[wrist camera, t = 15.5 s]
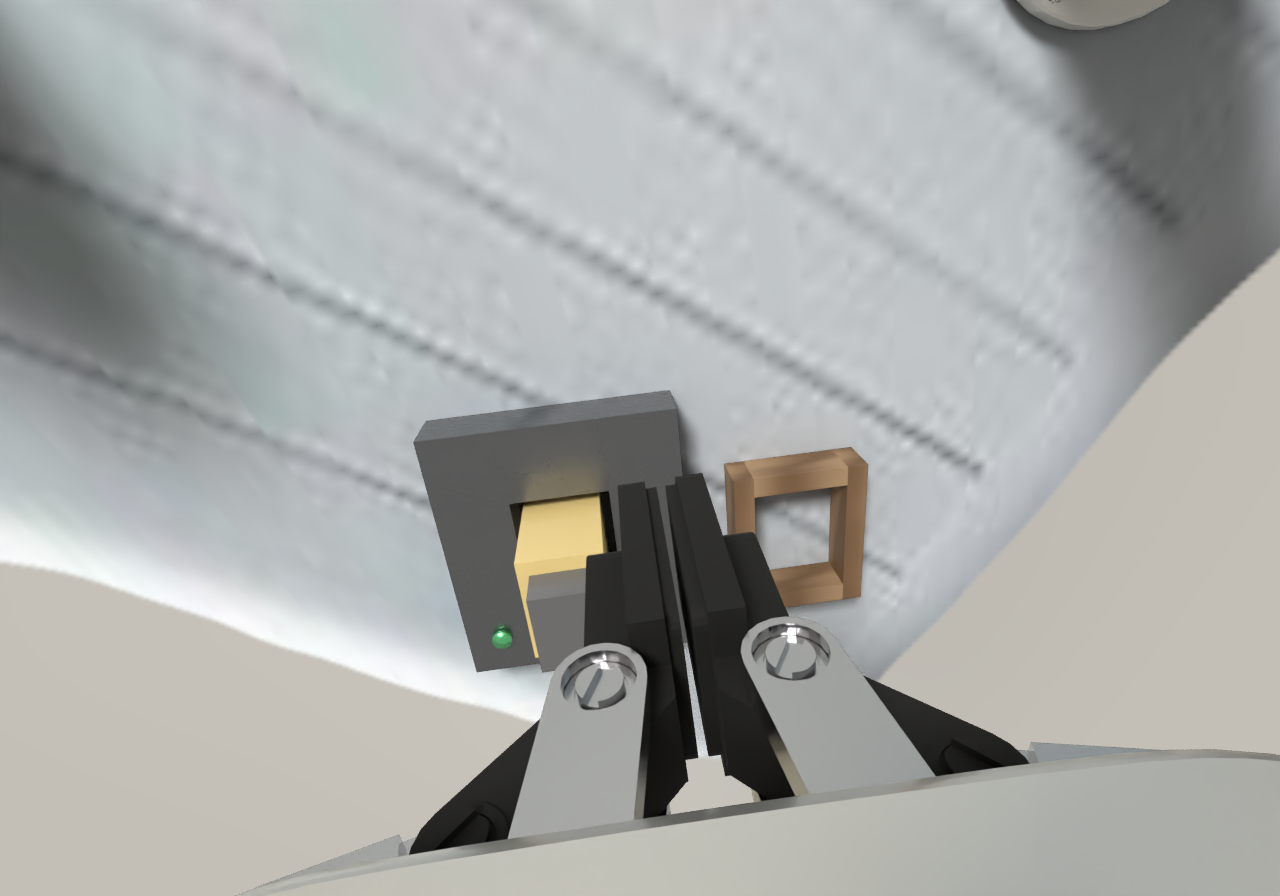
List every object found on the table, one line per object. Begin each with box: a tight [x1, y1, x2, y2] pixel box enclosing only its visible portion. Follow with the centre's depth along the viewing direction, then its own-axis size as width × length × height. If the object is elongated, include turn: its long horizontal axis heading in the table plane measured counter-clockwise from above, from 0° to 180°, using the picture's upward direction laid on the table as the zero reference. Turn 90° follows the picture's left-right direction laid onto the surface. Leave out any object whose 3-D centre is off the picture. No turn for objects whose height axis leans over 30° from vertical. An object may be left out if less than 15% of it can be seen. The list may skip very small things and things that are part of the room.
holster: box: [724, 447, 868, 607], centre depth 39 cm, size 8×10×2 cm
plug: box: [514, 492, 609, 672], centre depth 34 cm, size 4×6×10 cm
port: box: [413, 390, 687, 672], centre depth 37 cm, size 14×16×3 cm
